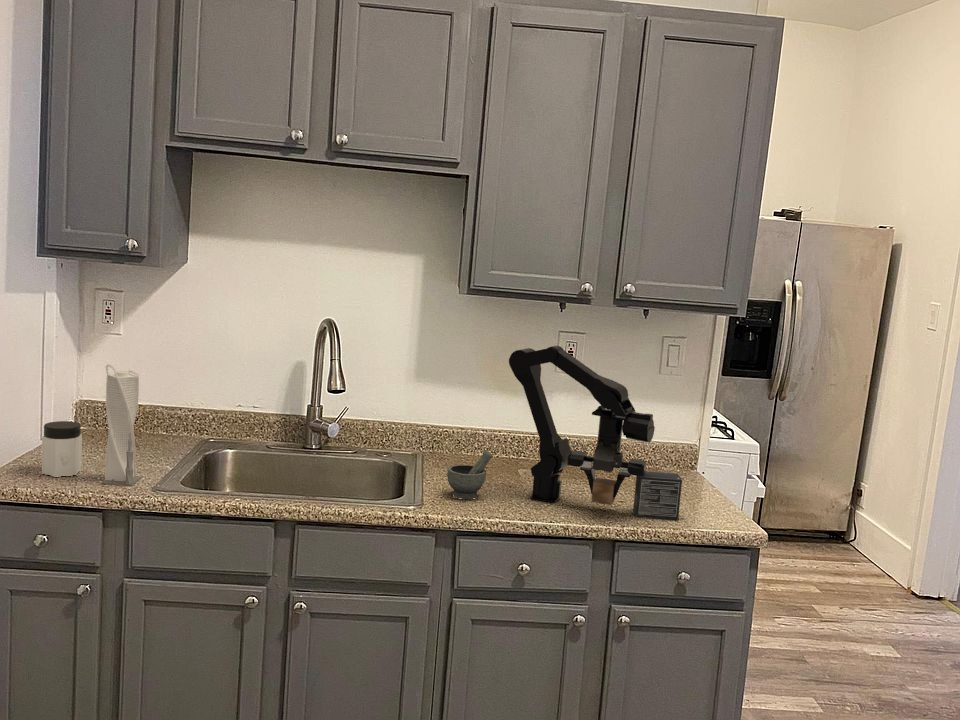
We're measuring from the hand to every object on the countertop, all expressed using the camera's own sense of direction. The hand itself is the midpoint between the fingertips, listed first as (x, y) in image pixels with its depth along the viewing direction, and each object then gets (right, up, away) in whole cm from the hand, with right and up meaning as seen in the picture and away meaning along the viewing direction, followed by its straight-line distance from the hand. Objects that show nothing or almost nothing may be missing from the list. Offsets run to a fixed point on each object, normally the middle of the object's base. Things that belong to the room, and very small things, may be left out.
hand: (603, 496), depth 232 cm
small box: (+13, -5, +1) cm, 14 cm away
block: (0, -1, 0) cm, 1 cm away
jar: (-132, +6, -5) cm, 132 cm away
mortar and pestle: (-34, -1, +4) cm, 34 cm away
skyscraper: (-117, +5, -7) cm, 117 cm away
